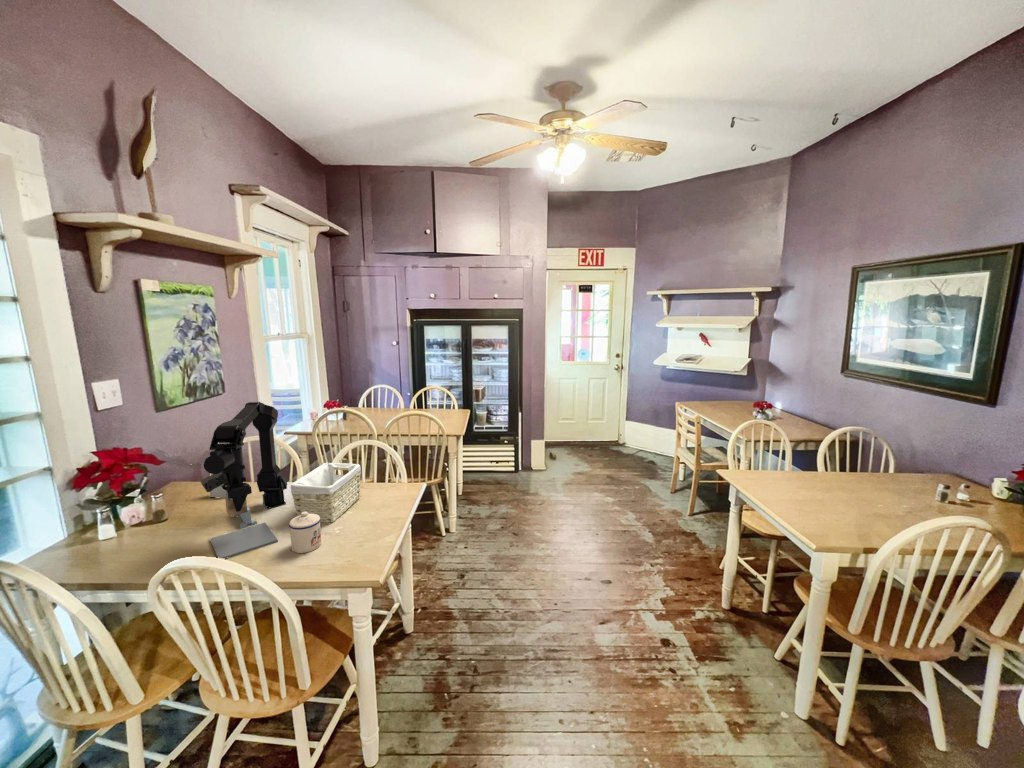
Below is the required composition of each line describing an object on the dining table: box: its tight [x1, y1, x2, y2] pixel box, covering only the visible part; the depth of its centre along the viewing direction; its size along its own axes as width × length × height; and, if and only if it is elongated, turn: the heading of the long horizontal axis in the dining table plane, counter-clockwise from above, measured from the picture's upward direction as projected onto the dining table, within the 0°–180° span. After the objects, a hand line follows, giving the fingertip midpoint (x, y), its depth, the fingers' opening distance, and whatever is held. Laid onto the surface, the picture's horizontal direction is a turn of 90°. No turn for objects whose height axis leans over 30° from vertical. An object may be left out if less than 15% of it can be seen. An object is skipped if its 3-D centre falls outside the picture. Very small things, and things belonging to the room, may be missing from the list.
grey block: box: [209, 473, 227, 499], centre depth 169 cm, size 4×7×10 cm, turn 90°
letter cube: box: [224, 497, 248, 517], centre depth 134 cm, size 5×5×5 cm
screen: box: [233, 505, 258, 529], centre depth 150 cm, size 5×13×6 cm, turn 44°
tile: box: [210, 522, 279, 560], centre depth 136 cm, size 16×16×1 cm
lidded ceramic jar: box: [288, 511, 322, 554], centre depth 134 cm, size 12×9×12 cm
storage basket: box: [290, 462, 362, 523], centre depth 158 cm, size 24×16×15 cm
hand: (237, 508), depth 134 cm, fingers closed on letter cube, 5 cm apart
